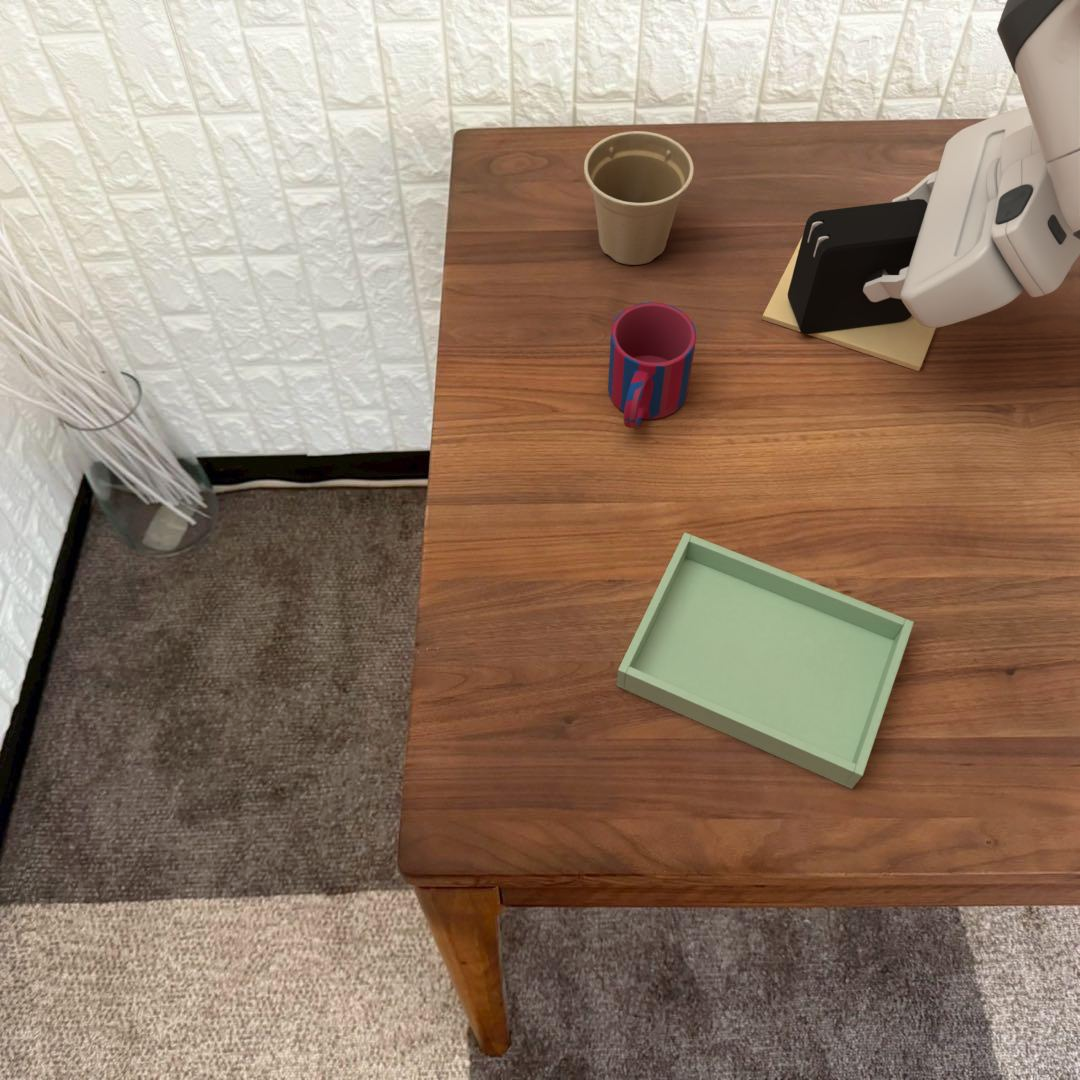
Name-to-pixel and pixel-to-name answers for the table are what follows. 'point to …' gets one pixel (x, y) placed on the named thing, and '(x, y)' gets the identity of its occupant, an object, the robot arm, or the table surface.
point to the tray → (767, 658)
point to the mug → (650, 361)
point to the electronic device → (852, 264)
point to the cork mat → (858, 330)
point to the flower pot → (636, 192)
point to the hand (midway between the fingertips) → (881, 250)
